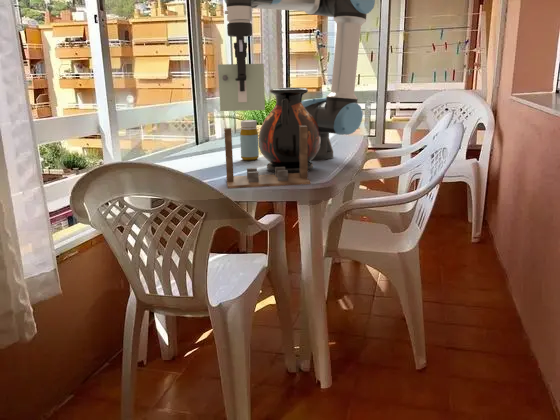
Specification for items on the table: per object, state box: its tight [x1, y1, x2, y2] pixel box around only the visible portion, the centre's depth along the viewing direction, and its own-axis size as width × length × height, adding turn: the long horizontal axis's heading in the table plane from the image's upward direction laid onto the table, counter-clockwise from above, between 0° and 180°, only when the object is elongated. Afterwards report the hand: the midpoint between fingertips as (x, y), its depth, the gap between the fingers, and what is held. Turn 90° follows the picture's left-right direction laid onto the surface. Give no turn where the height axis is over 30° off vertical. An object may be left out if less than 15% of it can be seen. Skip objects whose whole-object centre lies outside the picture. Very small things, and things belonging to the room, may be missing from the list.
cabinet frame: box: [223, 125, 312, 189], centre depth 152 cm, size 25×13×18 cm, turn 98°
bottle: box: [239, 119, 260, 161], centre depth 195 cm, size 7×7×15 cm
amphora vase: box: [258, 87, 321, 174], centre depth 170 cm, size 22×22×28 cm
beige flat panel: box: [217, 63, 266, 112], centre depth 154 cm, size 14×4×14 cm, turn 96°
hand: (242, 101), depth 156 cm, fingers closed on beige flat panel, 3 cm apart
